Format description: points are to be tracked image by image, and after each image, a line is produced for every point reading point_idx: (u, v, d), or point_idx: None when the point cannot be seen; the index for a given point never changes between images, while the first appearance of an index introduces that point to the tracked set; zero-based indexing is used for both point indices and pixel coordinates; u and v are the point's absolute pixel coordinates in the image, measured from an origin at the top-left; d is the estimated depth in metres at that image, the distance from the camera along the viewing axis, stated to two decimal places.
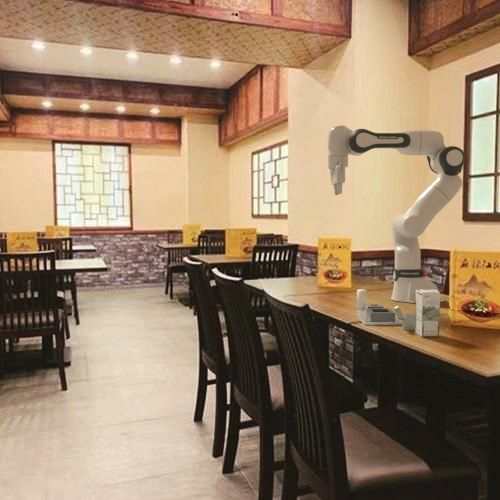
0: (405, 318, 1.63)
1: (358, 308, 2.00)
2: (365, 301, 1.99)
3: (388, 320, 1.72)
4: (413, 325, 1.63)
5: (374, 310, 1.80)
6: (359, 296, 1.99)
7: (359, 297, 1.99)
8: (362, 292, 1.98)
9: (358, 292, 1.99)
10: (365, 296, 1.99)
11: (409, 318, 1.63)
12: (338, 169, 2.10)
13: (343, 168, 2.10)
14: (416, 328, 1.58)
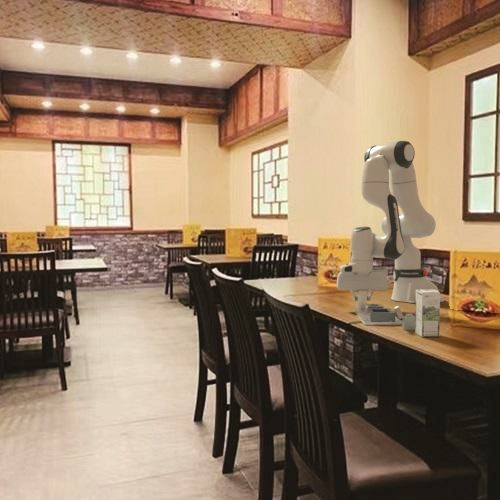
0: (405, 318, 1.63)
1: (358, 308, 2.00)
2: (365, 301, 1.99)
3: (388, 320, 1.72)
4: (413, 325, 1.63)
5: (374, 310, 1.80)
6: (359, 296, 1.99)
7: (359, 297, 1.99)
8: (362, 292, 1.98)
9: (358, 292, 1.99)
10: (365, 296, 1.99)
11: (409, 318, 1.63)
12: (386, 276, 1.98)
13: None
14: (416, 328, 1.58)
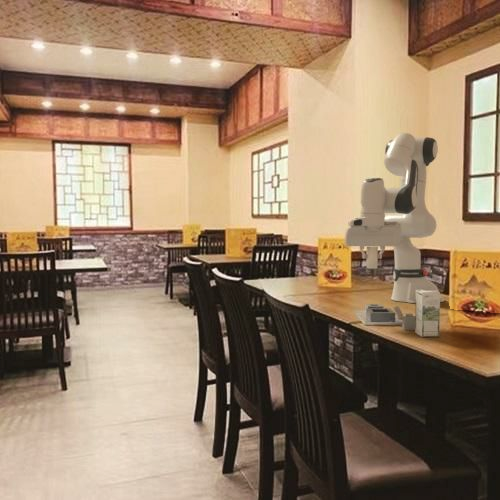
0: (405, 318, 1.63)
1: (368, 266, 1.83)
2: (375, 259, 1.82)
3: (388, 320, 1.72)
4: (413, 325, 1.63)
5: (374, 310, 1.80)
6: (369, 253, 1.82)
7: (369, 254, 1.82)
8: (372, 249, 1.82)
9: (368, 249, 1.83)
10: (376, 253, 1.82)
11: (409, 318, 1.63)
12: None
13: None
14: (416, 328, 1.58)
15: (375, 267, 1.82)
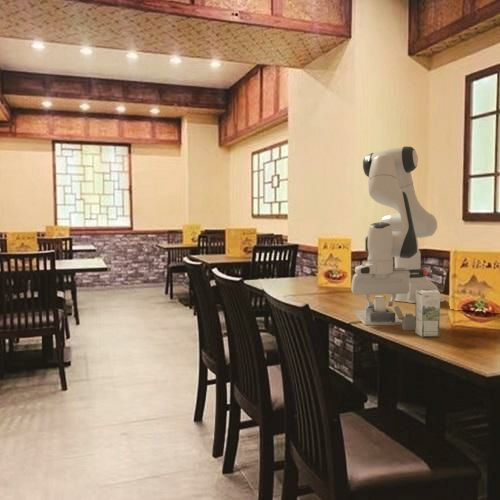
0: (405, 318, 1.63)
1: None
2: (384, 309, 1.75)
3: (388, 320, 1.72)
4: (413, 325, 1.63)
5: (374, 310, 1.80)
6: (377, 304, 1.75)
7: (377, 305, 1.75)
8: (380, 299, 1.75)
9: (376, 299, 1.76)
10: (384, 303, 1.75)
11: (409, 318, 1.63)
12: None
13: None
14: (416, 328, 1.58)
15: None
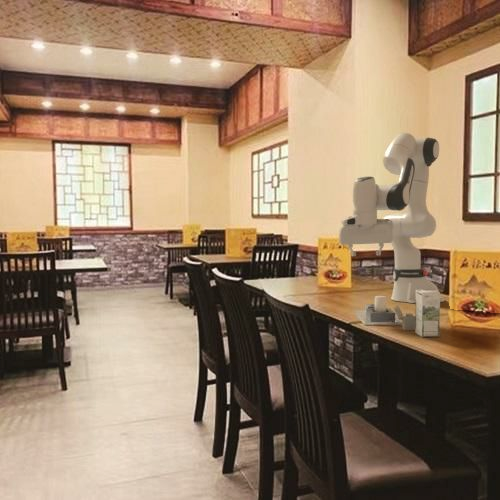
0: (405, 318, 1.63)
1: None
2: (384, 310, 1.75)
3: (388, 320, 1.72)
4: (413, 325, 1.63)
5: (374, 310, 1.80)
6: (377, 304, 1.75)
7: (377, 305, 1.75)
8: (381, 299, 1.75)
9: (376, 299, 1.75)
10: (384, 304, 1.75)
11: (409, 318, 1.63)
12: None
13: None
14: (416, 328, 1.58)
15: None
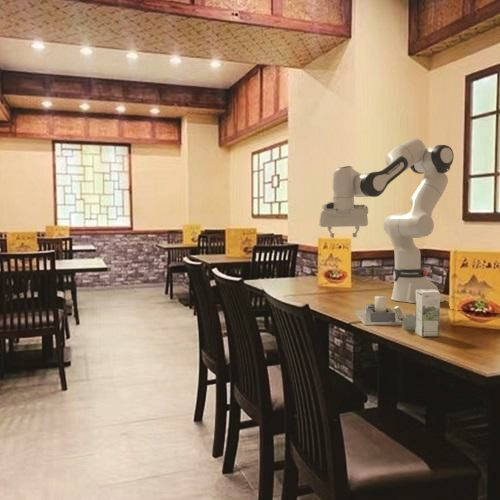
0: (405, 318, 1.63)
1: None
2: (384, 310, 1.75)
3: (388, 320, 1.72)
4: (413, 325, 1.63)
5: (374, 310, 1.80)
6: (377, 304, 1.75)
7: (377, 305, 1.75)
8: (381, 299, 1.75)
9: (376, 299, 1.75)
10: (384, 304, 1.75)
11: (409, 318, 1.63)
12: (366, 213, 2.06)
13: None
14: (416, 328, 1.58)
15: None
